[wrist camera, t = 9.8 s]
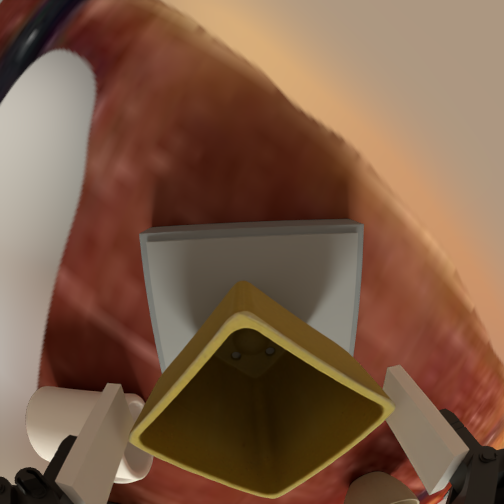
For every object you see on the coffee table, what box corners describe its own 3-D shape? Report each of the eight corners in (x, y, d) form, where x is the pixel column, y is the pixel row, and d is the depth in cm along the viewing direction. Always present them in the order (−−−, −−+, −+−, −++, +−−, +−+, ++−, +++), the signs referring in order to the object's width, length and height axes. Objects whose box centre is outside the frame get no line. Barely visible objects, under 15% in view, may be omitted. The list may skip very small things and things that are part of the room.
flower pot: (344, 323, 19) (402, 408, 11) (263, 405, 21) (274, 502, 12) (239, 245, 18) (239, 306, 9) (162, 345, 19) (123, 441, 11)
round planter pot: (385, 450, 27) (406, 492, 20) (409, 471, 29) (427, 505, 22) (316, 488, 28) (327, 531, 22) (350, 504, 30) (361, 540, 24)
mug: (51, 370, 23) (12, 418, 16) (137, 375, 23) (108, 439, 16) (93, 449, 26) (72, 497, 18) (170, 458, 26) (159, 515, 18)
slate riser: (176, 389, 24) (170, 412, 21) (151, 227, 20) (137, 234, 18) (337, 380, 24) (347, 402, 21) (349, 218, 21) (365, 225, 18)
